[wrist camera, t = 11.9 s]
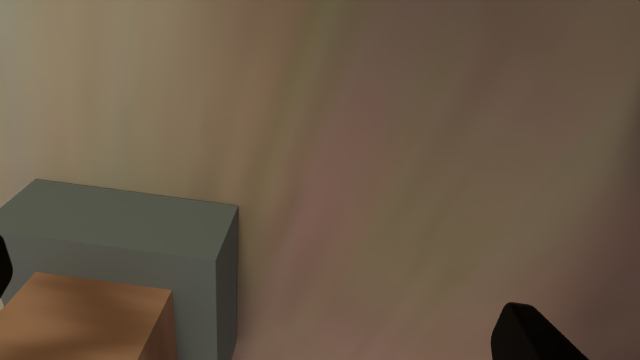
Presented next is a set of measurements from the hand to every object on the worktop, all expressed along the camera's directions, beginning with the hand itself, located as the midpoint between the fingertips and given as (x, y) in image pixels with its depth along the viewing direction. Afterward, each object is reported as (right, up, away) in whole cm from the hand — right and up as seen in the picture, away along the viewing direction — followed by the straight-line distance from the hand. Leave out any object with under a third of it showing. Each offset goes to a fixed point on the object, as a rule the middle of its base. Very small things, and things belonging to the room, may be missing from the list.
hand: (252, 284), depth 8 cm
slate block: (-8, -3, +17) cm, 19 cm away
